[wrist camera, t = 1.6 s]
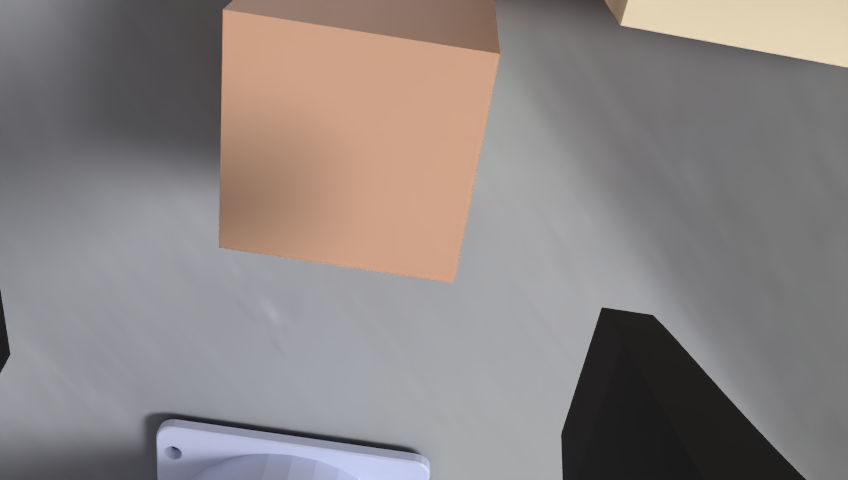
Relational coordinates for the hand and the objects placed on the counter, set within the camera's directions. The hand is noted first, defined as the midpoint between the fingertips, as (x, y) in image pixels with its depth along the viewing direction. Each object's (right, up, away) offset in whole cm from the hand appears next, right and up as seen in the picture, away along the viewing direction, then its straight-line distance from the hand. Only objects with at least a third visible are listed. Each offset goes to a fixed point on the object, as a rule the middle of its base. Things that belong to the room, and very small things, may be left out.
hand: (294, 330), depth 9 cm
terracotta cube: (0, +5, +8) cm, 10 cm away
